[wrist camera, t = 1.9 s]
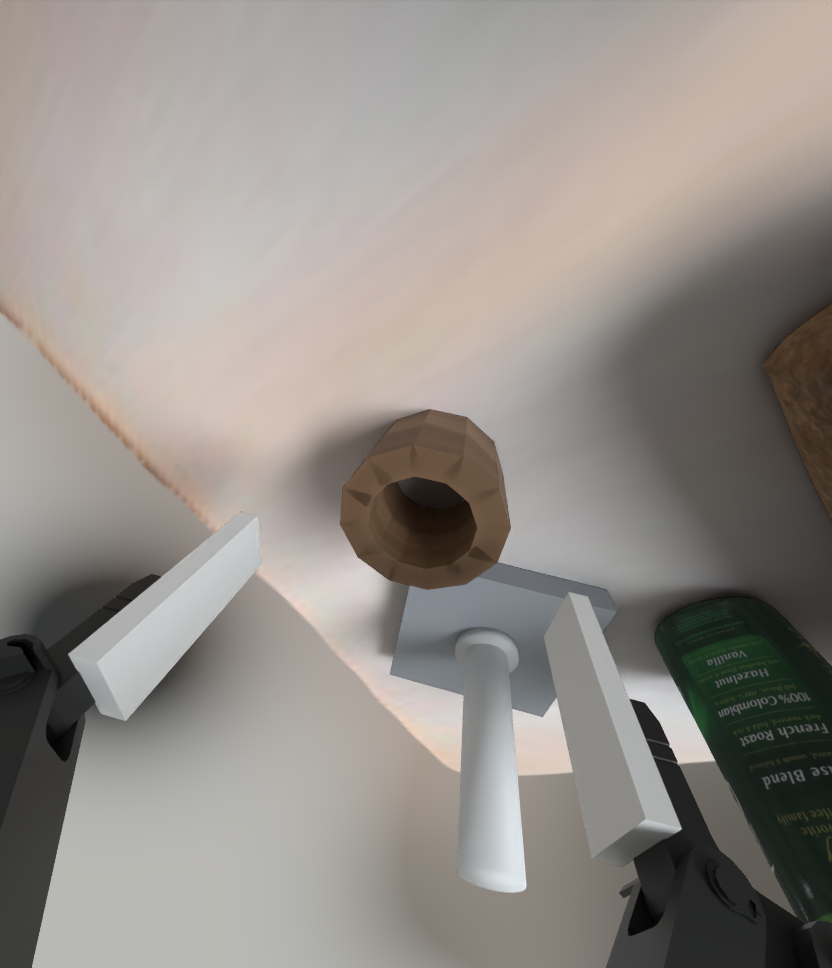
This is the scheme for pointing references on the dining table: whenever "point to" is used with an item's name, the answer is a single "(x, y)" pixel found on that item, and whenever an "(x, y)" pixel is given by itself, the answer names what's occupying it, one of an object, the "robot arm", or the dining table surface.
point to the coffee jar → (764, 732)
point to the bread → (808, 395)
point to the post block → (489, 695)
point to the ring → (420, 530)
